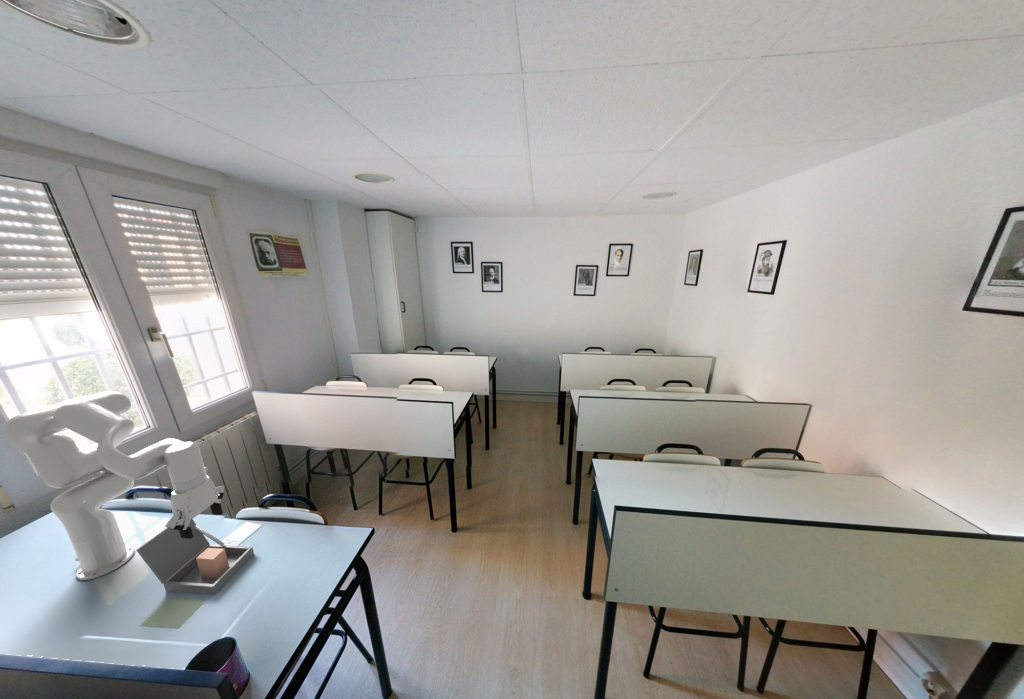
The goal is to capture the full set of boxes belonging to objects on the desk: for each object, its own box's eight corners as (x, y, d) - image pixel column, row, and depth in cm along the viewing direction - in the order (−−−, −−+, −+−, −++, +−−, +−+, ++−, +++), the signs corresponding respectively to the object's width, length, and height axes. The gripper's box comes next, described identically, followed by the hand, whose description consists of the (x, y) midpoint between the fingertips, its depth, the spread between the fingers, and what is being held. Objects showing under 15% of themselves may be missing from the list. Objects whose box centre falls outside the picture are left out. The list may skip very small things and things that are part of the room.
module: (201, 576, 105) (195, 558, 102) (212, 565, 108) (207, 547, 106) (218, 578, 104) (213, 559, 102) (229, 567, 108) (224, 548, 106)
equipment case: (151, 591, 100) (135, 549, 96) (197, 551, 114) (186, 512, 110) (215, 596, 99) (203, 553, 95) (254, 555, 113) (245, 516, 109)
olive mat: (139, 627, 90) (139, 625, 90) (170, 599, 98) (169, 597, 98) (179, 630, 90) (178, 628, 90) (206, 601, 98) (206, 600, 97)
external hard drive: (263, 528, 126) (231, 554, 114) (246, 524, 127) (213, 550, 115) (262, 524, 125) (230, 551, 114) (246, 521, 127) (212, 547, 115)
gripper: (206, 463, 106) (217, 505, 110) (146, 500, 89) (162, 547, 93) (227, 464, 105) (238, 506, 110) (171, 501, 89) (186, 548, 93)
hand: (203, 525), depth 101 cm, fingers open, 9 cm apart
